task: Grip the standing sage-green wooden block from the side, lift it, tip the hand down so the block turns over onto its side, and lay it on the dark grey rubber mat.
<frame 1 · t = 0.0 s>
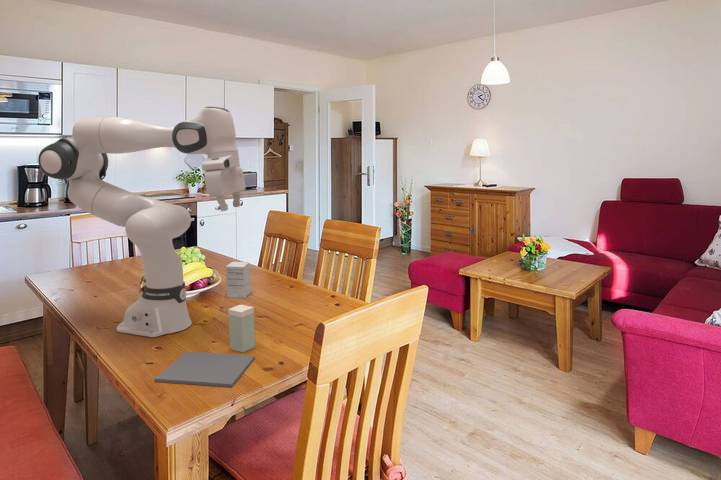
hand: (230, 208, 142), 39 cm above the table, tool pointing down, fingers open, 8 cm apart
rubber mat: (207, 369, 123), on the table
supplement box: (239, 295, 185), on the table
sage block: (242, 347, 137), on the table
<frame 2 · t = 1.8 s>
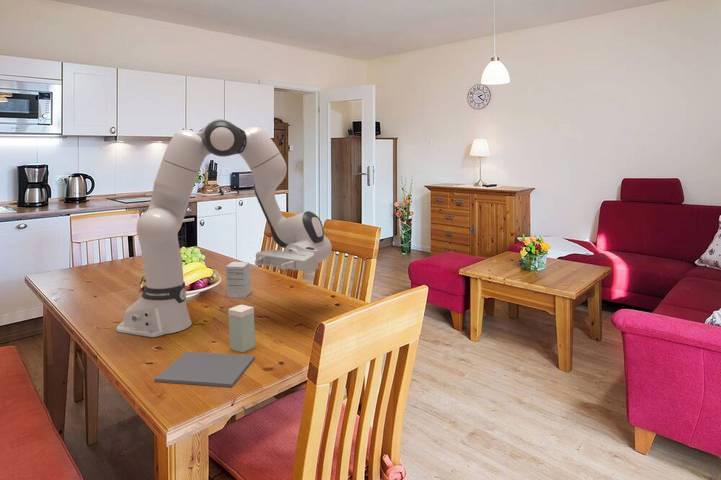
hand: (268, 265, 143), 22 cm above the table, tool horizontal, fingers open, 8 cm apart
nothing on the table moved.
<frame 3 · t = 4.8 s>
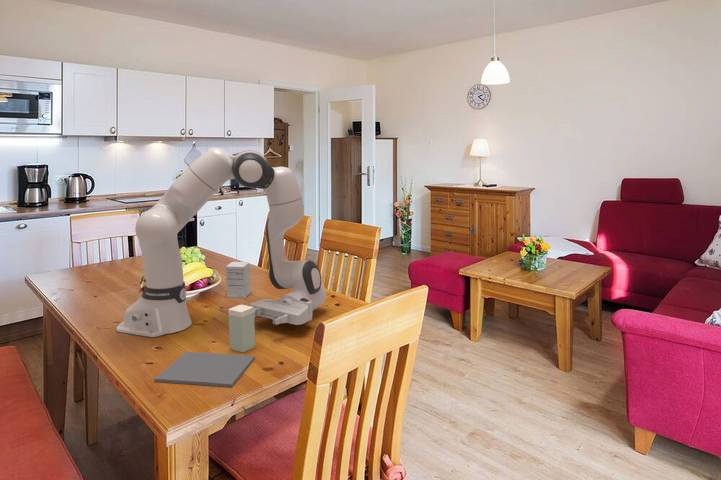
hand: (262, 318, 143), 6 cm above the table, tool horizontal, fingers open, 8 cm apart
nothing on the table moved.
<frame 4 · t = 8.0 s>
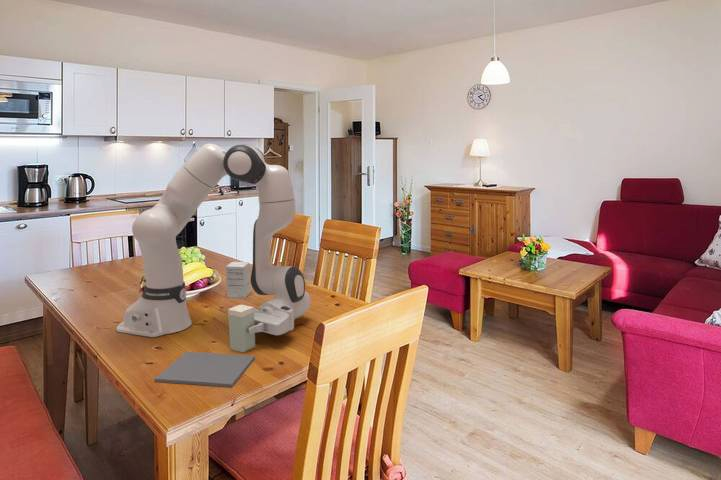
hand: (239, 328, 135), 6 cm above the table, tool horizontal, fingers closed on sage block, 5 cm apart
sage block: (242, 347, 137), on the table, touching gripper
everything else where it was.
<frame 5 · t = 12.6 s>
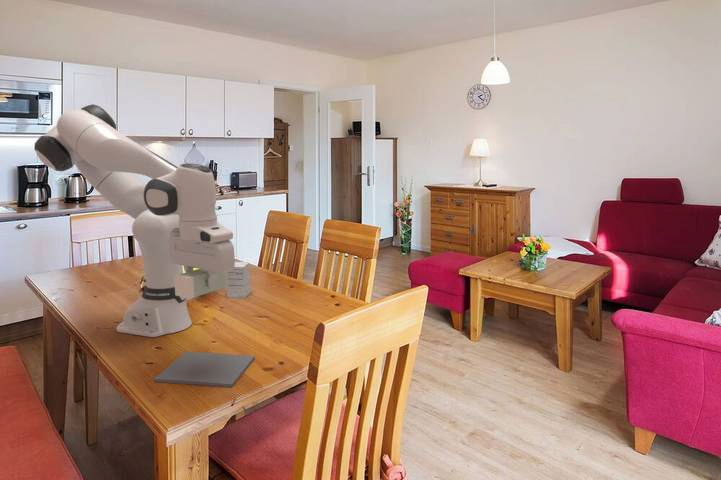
hand: (201, 284, 119), 23 cm above the table, tool pointing down, fingers closed on sage block, 5 cm apart
sage block: (219, 276, 123), point 24 cm above the table, tilted 90°, touching gripper
everything else where it was.
when the fingers open (4 cm above the table, at t = 17.1 s): sage block drops 2 cm, resting on rubber mat.
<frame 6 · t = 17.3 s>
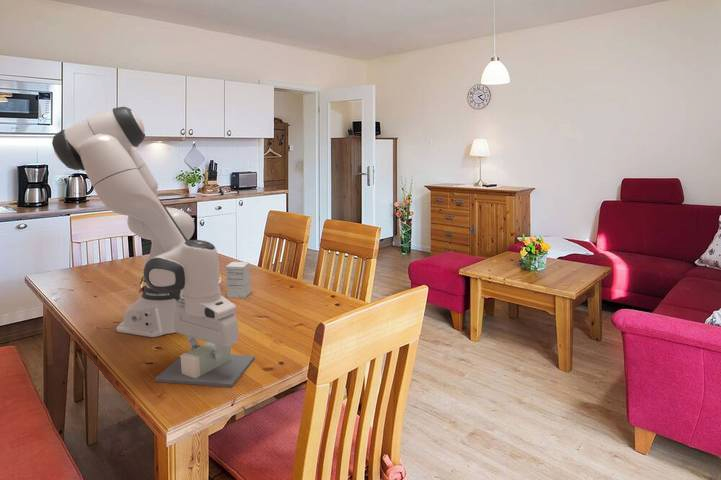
hand: (206, 354, 122), 4 cm above the table, tool pointing down, fingers open, 7 cm apart
sage block: (223, 349, 127), point 3 cm above the table, tilted 90°, touching rubber mat
everything else where it was.
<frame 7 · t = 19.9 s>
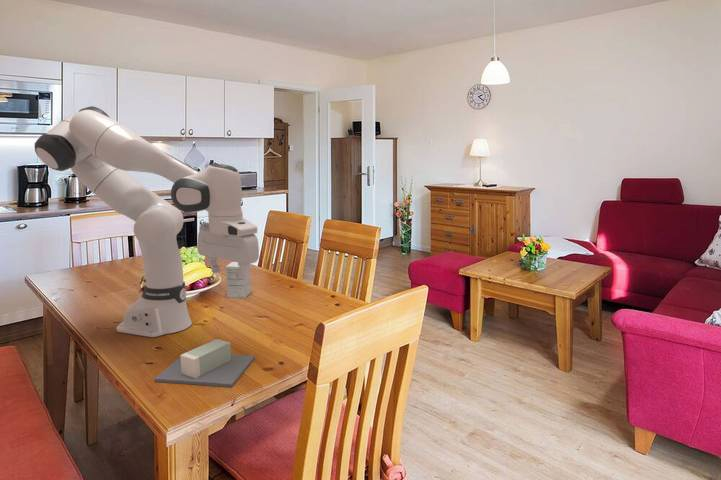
hand: (227, 275, 129), 23 cm above the table, tool pointing down, fingers open, 8 cm apart
nothing on the table moved.
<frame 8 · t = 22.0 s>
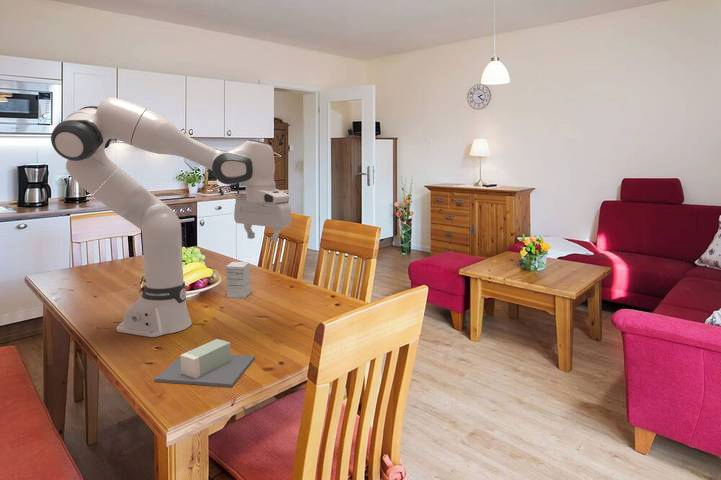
hand: (262, 239, 145), 29 cm above the table, tool pointing down, fingers open, 8 cm apart
nothing on the table moved.
at the end: sage block tilted 90°; sage block inside the target area on the rubber mat (6.1 cm from its centre), point 3.3 cm above the rubber mat's base; the gripper is holding nothing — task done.
